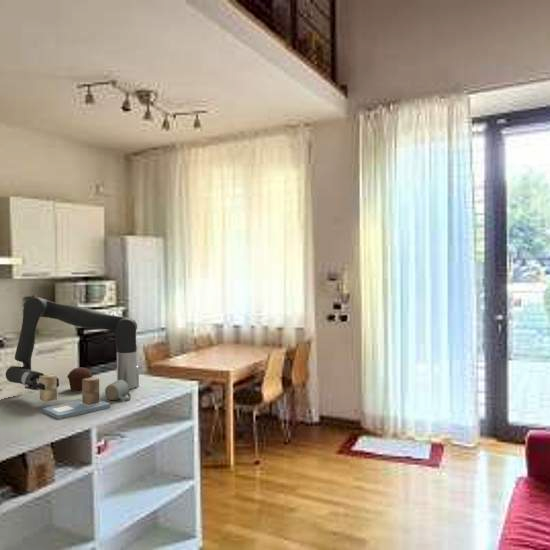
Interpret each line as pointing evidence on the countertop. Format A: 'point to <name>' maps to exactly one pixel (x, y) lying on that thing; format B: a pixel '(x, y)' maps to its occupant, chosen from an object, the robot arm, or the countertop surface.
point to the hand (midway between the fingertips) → (50, 386)
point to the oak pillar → (48, 387)
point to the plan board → (74, 409)
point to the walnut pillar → (90, 391)
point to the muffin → (78, 378)
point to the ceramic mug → (117, 390)
